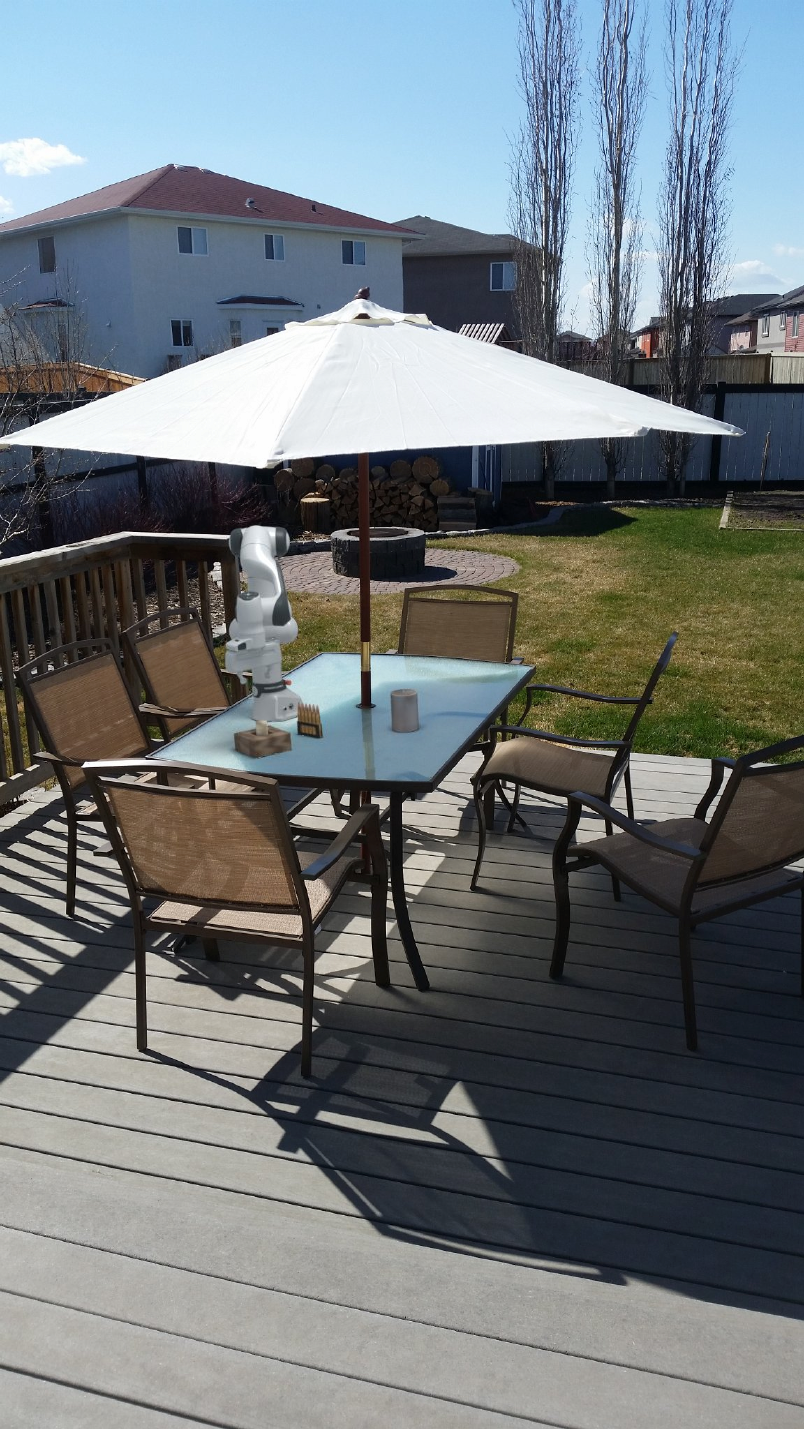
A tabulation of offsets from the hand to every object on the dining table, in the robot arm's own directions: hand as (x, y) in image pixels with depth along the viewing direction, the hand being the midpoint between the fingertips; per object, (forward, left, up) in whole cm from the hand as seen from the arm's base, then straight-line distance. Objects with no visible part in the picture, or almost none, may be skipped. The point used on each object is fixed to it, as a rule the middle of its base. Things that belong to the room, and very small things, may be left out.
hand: (255, 680), depth 361 cm
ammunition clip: (-20, 0, -24) cm, 31 cm away
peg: (+1, +3, -24) cm, 24 cm away
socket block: (+1, +3, -24) cm, 24 cm away
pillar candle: (-49, +18, -24) cm, 58 cm away
